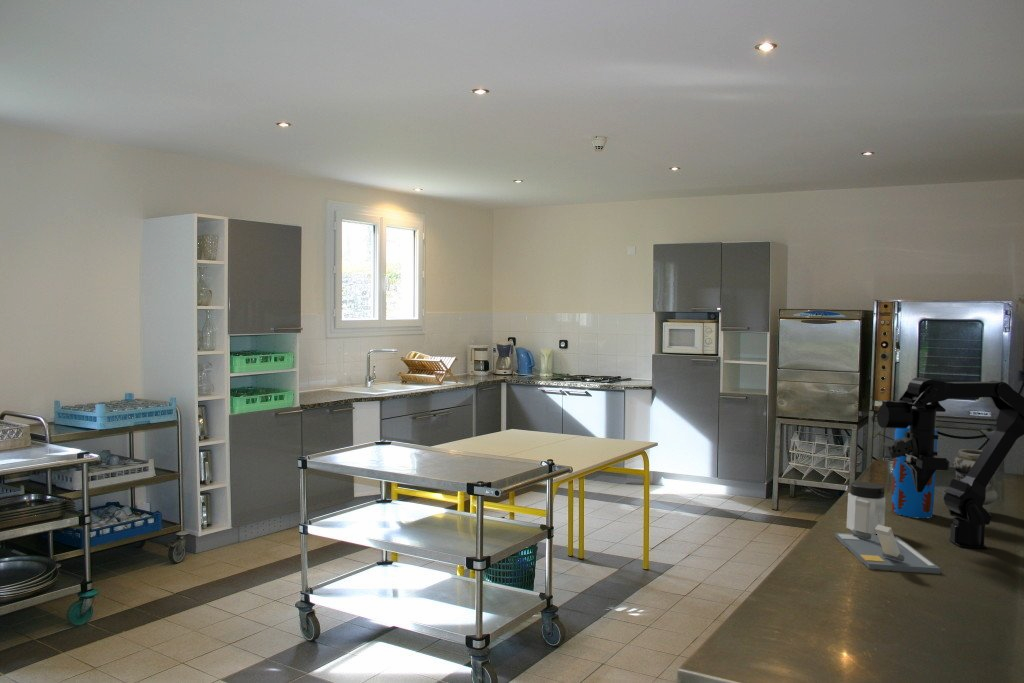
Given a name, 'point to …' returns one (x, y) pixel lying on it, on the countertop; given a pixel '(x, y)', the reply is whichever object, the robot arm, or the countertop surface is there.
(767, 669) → the countertop surface
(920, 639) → the countertop surface
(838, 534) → the switch panel
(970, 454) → the apothecary jar
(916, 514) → the thermos
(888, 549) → the lever
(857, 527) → the lever
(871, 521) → the jar
